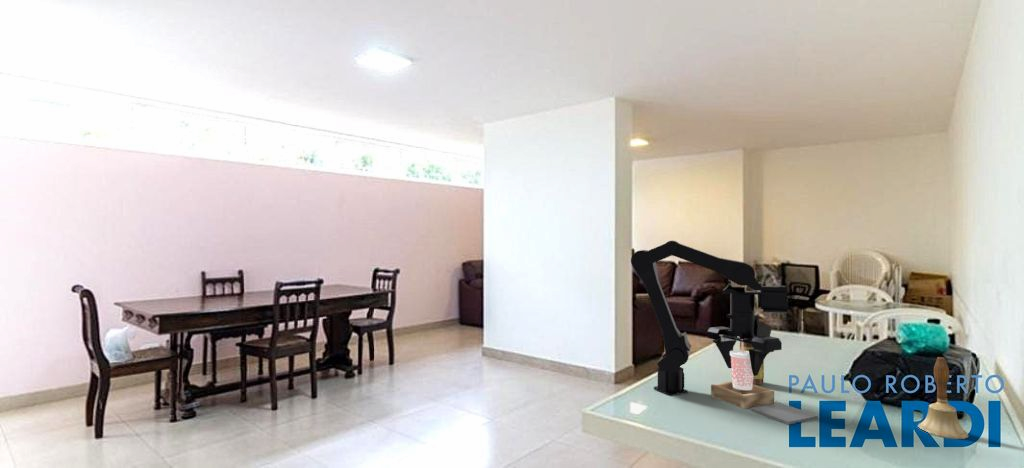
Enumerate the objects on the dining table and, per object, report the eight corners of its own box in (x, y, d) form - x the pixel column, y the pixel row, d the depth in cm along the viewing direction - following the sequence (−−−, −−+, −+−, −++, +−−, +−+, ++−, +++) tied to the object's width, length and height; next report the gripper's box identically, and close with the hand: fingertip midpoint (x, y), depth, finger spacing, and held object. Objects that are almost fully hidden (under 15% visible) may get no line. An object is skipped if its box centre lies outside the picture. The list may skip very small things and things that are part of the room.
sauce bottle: (768, 386, 142) (768, 315, 142) (745, 385, 142) (745, 315, 142) (757, 379, 148) (757, 311, 148) (735, 379, 148) (735, 311, 149)
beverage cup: (733, 390, 127) (733, 335, 127) (726, 383, 133) (726, 330, 133) (759, 391, 126) (759, 335, 127) (751, 384, 133) (751, 331, 133)
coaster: (788, 424, 112) (788, 421, 112) (750, 410, 121) (750, 408, 121) (818, 418, 116) (818, 415, 116) (779, 405, 126) (779, 402, 126)
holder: (744, 408, 123) (744, 396, 123) (711, 396, 133) (711, 384, 133) (774, 402, 127) (774, 390, 127) (740, 391, 137) (740, 380, 137)
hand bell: (957, 442, 103) (956, 363, 103) (910, 428, 110) (909, 355, 111) (976, 435, 107) (975, 359, 107) (929, 422, 114) (929, 351, 114)
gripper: (797, 314, 125) (797, 377, 125) (736, 305, 142) (736, 360, 142) (765, 317, 120) (765, 382, 120) (705, 307, 137) (705, 364, 137)
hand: (742, 371), depth 130 cm, fingers closed on beverage cup, 8 cm apart
